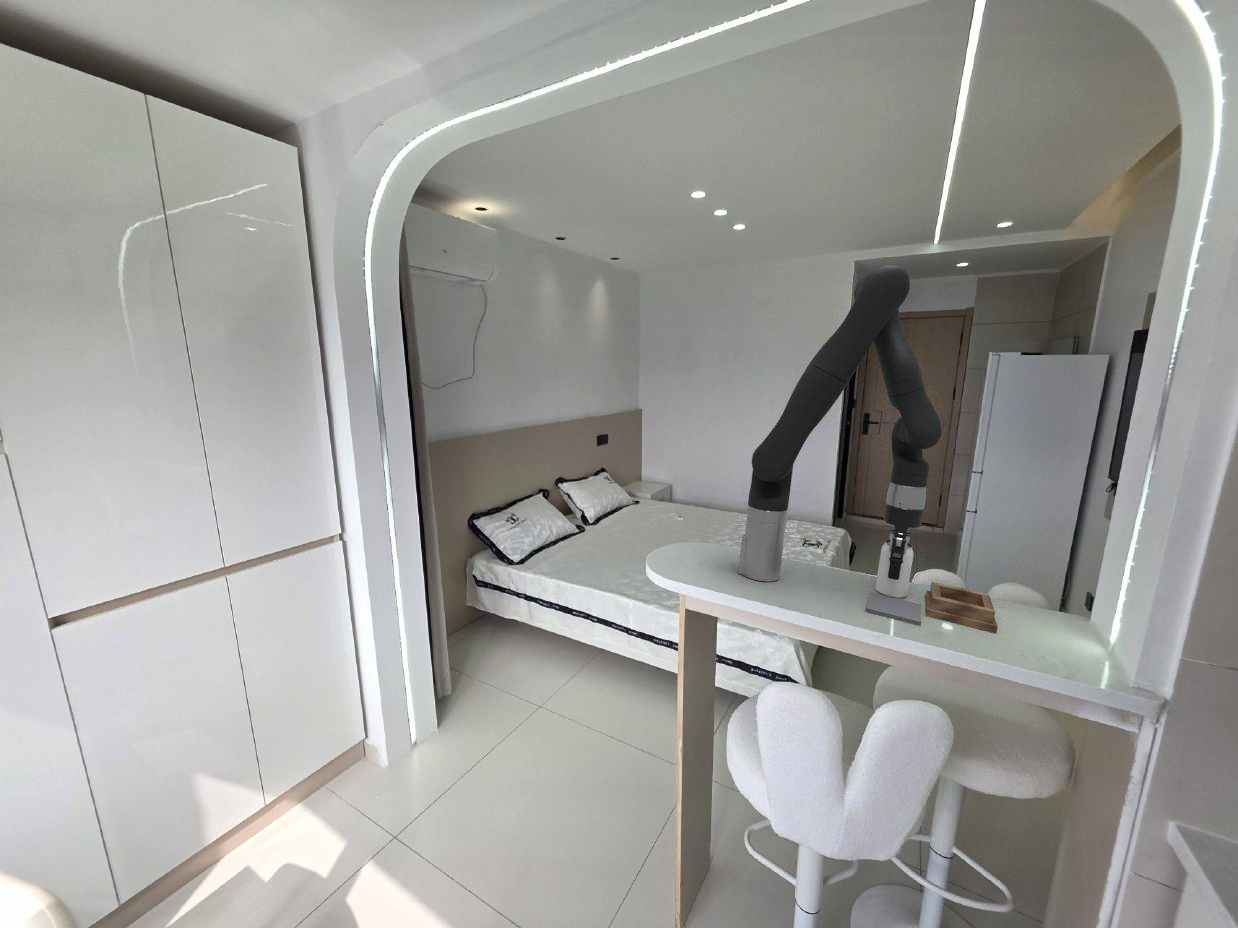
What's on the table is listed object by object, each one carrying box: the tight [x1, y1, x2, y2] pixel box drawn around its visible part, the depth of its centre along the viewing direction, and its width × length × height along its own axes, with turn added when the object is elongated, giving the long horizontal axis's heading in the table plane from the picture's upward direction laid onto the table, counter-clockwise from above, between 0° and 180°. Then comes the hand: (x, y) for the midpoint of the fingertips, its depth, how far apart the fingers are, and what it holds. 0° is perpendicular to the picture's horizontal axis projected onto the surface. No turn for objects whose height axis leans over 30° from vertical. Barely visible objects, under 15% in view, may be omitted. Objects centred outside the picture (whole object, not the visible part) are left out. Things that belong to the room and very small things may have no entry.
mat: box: [865, 591, 922, 627], centre depth 106 cm, size 10×10×1 cm
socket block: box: [924, 581, 998, 634], centre depth 106 cm, size 12×12×4 cm
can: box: [875, 539, 914, 599], centre depth 114 cm, size 6×6×12 cm
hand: (893, 573), depth 114 cm, fingers closed on can, 6 cm apart
